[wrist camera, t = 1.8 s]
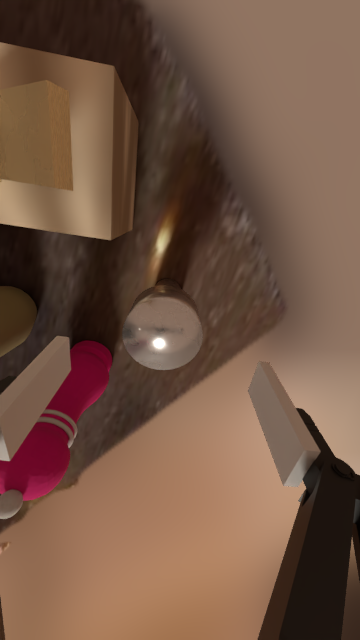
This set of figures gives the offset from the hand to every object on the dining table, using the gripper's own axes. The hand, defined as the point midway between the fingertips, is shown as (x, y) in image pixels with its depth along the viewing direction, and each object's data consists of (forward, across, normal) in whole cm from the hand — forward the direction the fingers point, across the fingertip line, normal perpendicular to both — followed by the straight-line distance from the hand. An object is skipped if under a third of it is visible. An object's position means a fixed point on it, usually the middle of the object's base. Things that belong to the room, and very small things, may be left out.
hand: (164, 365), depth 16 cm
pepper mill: (+16, -10, -12) cm, 23 cm away
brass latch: (+3, -10, +12) cm, 16 cm away
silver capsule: (+16, 0, 0) cm, 16 cm away
